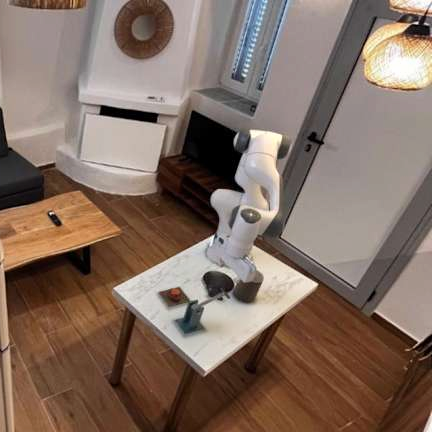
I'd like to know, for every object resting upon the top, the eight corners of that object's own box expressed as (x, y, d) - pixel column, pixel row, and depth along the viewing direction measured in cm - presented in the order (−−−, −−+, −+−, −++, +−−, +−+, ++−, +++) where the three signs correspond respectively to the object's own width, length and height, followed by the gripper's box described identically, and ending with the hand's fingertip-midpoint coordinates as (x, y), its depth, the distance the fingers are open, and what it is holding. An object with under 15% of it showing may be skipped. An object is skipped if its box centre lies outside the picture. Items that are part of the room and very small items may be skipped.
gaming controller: (224, 301, 184) (217, 293, 183) (213, 305, 187) (206, 297, 185) (221, 286, 192) (214, 278, 190) (211, 290, 195) (204, 283, 193)
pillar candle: (241, 304, 184) (250, 282, 175) (228, 289, 192) (237, 267, 183) (259, 301, 186) (270, 278, 177) (246, 286, 193) (256, 263, 184)
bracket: (193, 316, 178) (200, 295, 170) (204, 330, 172) (212, 309, 164) (174, 321, 176) (180, 300, 168) (184, 336, 170) (191, 314, 162)
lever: (222, 289, 170) (221, 286, 169) (230, 298, 166) (230, 295, 164) (188, 306, 170) (188, 302, 168) (196, 315, 166) (195, 312, 164)
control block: (178, 289, 192) (180, 284, 190) (189, 302, 185) (190, 297, 183) (158, 294, 189) (159, 289, 187) (168, 308, 182) (169, 303, 180)
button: (176, 290, 187) (176, 287, 186) (180, 295, 184) (181, 293, 183) (169, 292, 186) (170, 289, 185) (173, 297, 183) (174, 294, 182)
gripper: (264, 264, 144) (252, 290, 153) (228, 230, 160) (219, 256, 168) (250, 267, 143) (238, 294, 151) (214, 233, 158) (206, 259, 167)
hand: (228, 273), depth 160 cm, fingers open, 8 cm apart
